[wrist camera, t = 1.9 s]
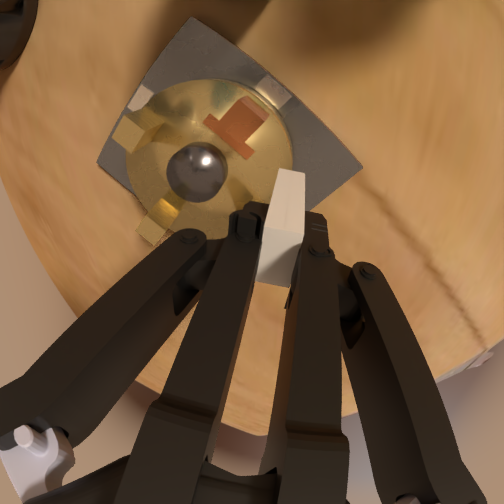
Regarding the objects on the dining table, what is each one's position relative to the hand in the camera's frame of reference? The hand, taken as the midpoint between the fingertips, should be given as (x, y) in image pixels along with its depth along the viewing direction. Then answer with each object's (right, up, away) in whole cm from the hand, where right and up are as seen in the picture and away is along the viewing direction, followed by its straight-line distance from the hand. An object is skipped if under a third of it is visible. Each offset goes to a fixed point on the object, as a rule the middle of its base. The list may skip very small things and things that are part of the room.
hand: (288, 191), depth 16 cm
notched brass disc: (-6, +6, +10) cm, 13 cm away
